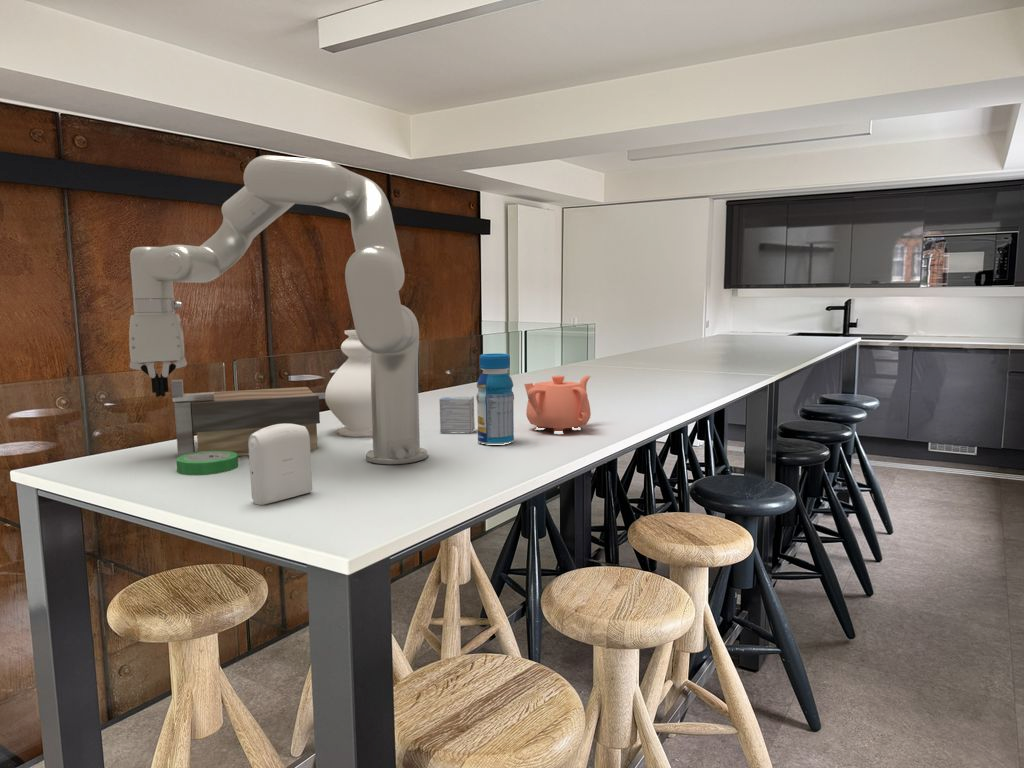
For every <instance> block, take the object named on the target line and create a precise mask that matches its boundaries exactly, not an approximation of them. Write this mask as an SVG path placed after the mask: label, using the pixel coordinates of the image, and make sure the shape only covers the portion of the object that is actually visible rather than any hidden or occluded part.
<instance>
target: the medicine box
mask: <svg viewBox="0 0 1024 768" xmlns="http://www.w3.org/2000/svg"><path fill="white" fill-rule="evenodd" d="M475 425H476V424H475V397H474V396H473V395H445V396H440V398H439V427H440V429H439V431H440V432H472V431H473V430H474V429H475V428H476V426H475ZM474 431H475V430H474ZM474 431H473V432H474Z"/></svg>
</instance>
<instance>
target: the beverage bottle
mask: <svg viewBox="0 0 1024 768" xmlns="http://www.w3.org/2000/svg"><path fill="white" fill-rule="evenodd" d="M510 367H511V357H510V354H508V353H501V352H500V353H498V352H497V353H482V354H480V355H479V369H480V370H481V371H482V372H481V374H479V377H478V379H477V383H476V388H477V392H476V397H475V398H476V405H477V406H476V407H477V409H476V411H477V413H476V414H477V442H478V443H479V442H480V443H484V444H504V443H509V442H512V441H513V442H514V440H515V435H514V433H515V432H514V430H515V429H514V425H515V424H514V422H515V421H514V401H515V394H514V392H513V387H514V382H513V379H512V376H511V375H510V374H509V372H508V370H510ZM513 442H512V443H513ZM480 443H479V444H480Z"/></svg>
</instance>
